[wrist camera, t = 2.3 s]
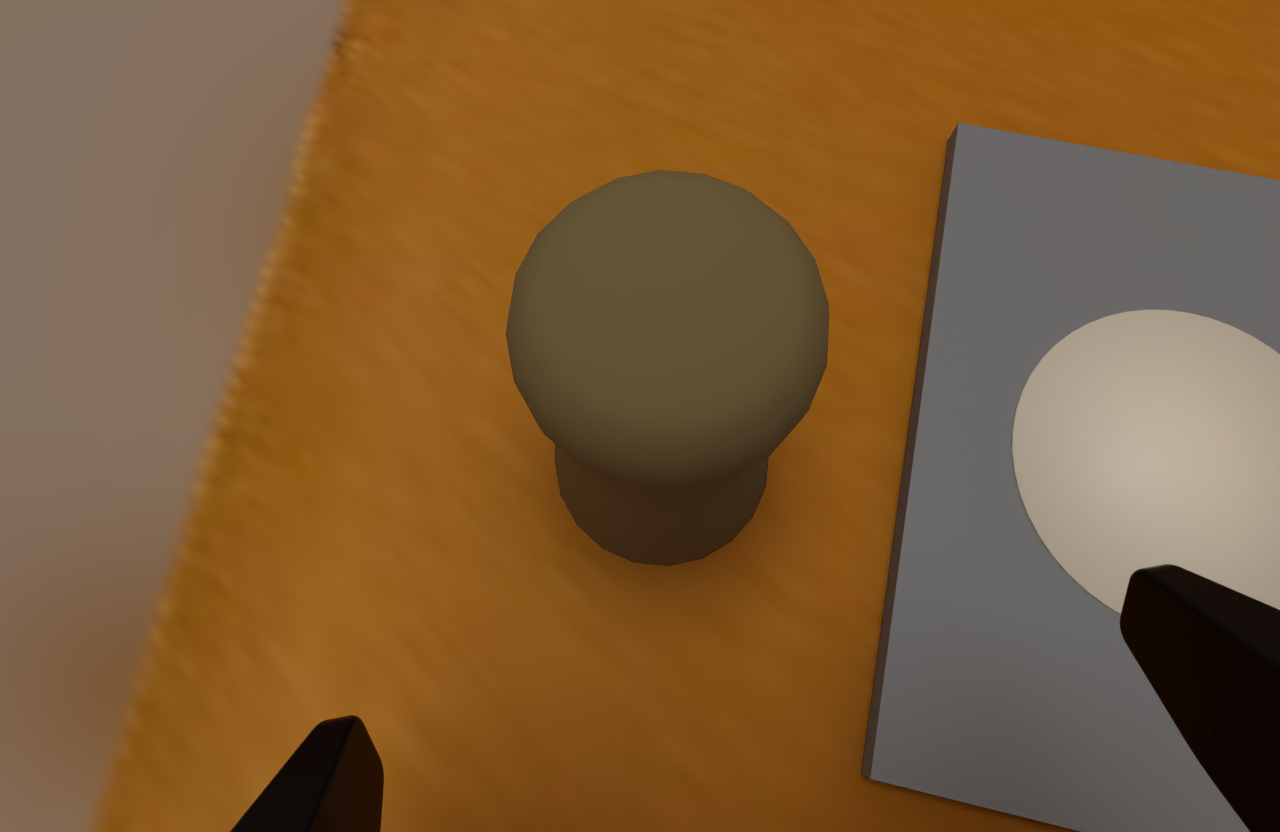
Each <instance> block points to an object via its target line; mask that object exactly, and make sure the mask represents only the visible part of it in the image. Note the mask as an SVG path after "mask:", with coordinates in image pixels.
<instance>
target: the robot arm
mask: <svg viewBox="0 0 1280 832" xmlns="http://www.w3.org/2000/svg"><path fill="white" fill-rule="evenodd" d="M1120 630H1121V634H1122V636H1123V639H1124V641H1125V643H1126V645H1127V646H1128V648H1129V649H1130V651H1131V653H1132V654H1133V656H1134V658H1135V659H1136V661H1137V663H1138V664H1139V666H1140V667H1141V669H1142V671H1143V672H1144V674H1145V676H1146V677H1147V679H1148V681H1149V682H1150V684H1151V686H1152V687H1153V689H1154V690H1155V692H1156V694H1157V695H1158V697H1159V699H1160V700H1161V702H1162V704H1163V705H1164V707H1165V708H1166V710H1167V712H1168V713H1169V715H1170V717H1171V718H1172V720H1173V722H1174V723H1175V725H1176V727H1177V728H1178V730H1179V731H1180V733H1181V735H1182V736H1183V738H1184V740H1185V741H1186V743H1187V744H1188V746H1189V748H1190V749H1191V751H1192V752H1193V754H1194V755H1195V757H1196V758H1197V760H1198V761H1199V763H1200V764H1201V766H1202V767H1203V769H1204V770H1205V771H1206V773H1207V774H1208V776H1209V777H1210V778H1211V780H1212V781H1213V783H1214V784H1215V785H1216V787H1217V788H1218V789H1219V791H1220V792H1221V793H1222V795H1223V796H1224V797H1225V799H1226V800H1227V802H1228V803H1229V804H1230V806H1231V807H1232V808H1233V810H1234V811H1235V812H1236V814H1237V815H1238V816H1239V818H1240V819H1241V820H1242V822H1243V823H1244V824H1245V826H1246V827H1247V828H1248V830H1249V831H1250V832H1280V610H1279V609H1277V608H1274V607H1272V606H1270V605H1268V604H1265V603H1263V602H1261V601H1258V600H1256V599H1254V598H1251V597H1249V596H1247V595H1244V594H1242V593H1240V592H1237V591H1235V590H1233V589H1230V588H1228V587H1226V586H1224V585H1221V584H1219V583H1217V582H1214V581H1212V580H1210V579H1207V578H1205V577H1203V576H1200V575H1198V574H1196V573H1193V572H1191V571H1189V570H1186V569H1184V568H1182V567H1179V566H1176V565H1172V564H1164V565H1158V566H1152V567H1147V568H1142V569H1138V570H1136V571H1135V572H1134V573H1133V574H1132V575H1131V577H1130V579H1129V583H1128V587H1127V591H1126V595H1125V599H1124V603H1123V607H1122V611H1121V615H1120ZM383 785H384V773H383V766H382V762H381V759H380V757H379V755H378V752H377V750H376V748H375V746H374V744H373V742H372V740H371V738H370V736H369V734H368V732H367V730H366V727H365V725H364V723H363V722H362V720H361V719H360V718H359V717H357V716H353V715H350V716H345V717H340V718H334V719H329V720H325V721H322V722H320V723H319V724H318V725H317V726H316V727H315V728H314V729H313V730H312V731H311V732H310V734H309V735H308V736H307V737H306V739H305V740H304V741H303V742H302V743H301V745H300V746H299V747H298V748H297V750H296V751H295V752H294V753H293V755H292V756H291V757H290V758H289V760H288V761H287V762H286V763H285V764H284V766H283V767H282V768H281V769H280V771H279V772H278V773H277V774H276V776H275V777H274V778H273V779H272V781H271V782H270V783H269V784H268V785H267V787H266V788H265V789H264V790H263V792H262V793H261V794H260V795H259V797H258V798H257V799H256V800H255V802H254V803H253V804H252V805H251V806H250V808H249V809H248V810H247V811H246V813H245V814H244V815H243V816H242V818H241V819H240V820H239V821H238V823H237V824H236V825H235V826H234V827H233V829H232V830H231V831H230V832H380V829H381V814H382V800H383Z"/></svg>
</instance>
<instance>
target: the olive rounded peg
mask: <svg viewBox="0 0 1280 832" xmlns="http://www.w3.org/2000/svg"><path fill="white" fill-rule="evenodd" d="M828 329H829V305H828V301H827V297H826V294H825V291H824V287H823V284H822V281H821V278H820V274H819V271H818V268H817V264H816V261H815V259H814V257H813V256H812V254H811V253H810V252H809V250H808V249H807V247H806V246H805V245H804V243H803V242H802V240H801V239H800V238H799V236H798V235H797V233H796V232H795V230H794V229H793V228H792V226H791V225H790V223H789V222H788V221H787V220H785V219H784V218H783V217H782V216H780V215H779V214H778V213H776V212H775V211H774V210H772V209H771V208H770V207H768V206H767V205H766V204H764V203H763V202H762V201H760V200H759V199H758V198H757V197H755V196H754V195H753V194H751V193H750V192H748V191H747V190H745V189H743V188H740V187H738V186H735V185H732V184H730V183H727V182H724V181H722V180H719V179H716V178H714V177H711V176H709V175H706V174H700V173H688V172H676V171H665V170H659V171H653V172H648V173H643V174H638V175H632V176H627V177H622V178H617V179H615V180H613V181H611V182H609V183H607V184H605V185H603V186H601V187H599V188H597V189H595V190H593V191H591V192H589V193H588V194H586V195H584V196H582V197H580V198H578V199H576V200H574V201H573V202H571V203H570V204H569V205H568V206H567V207H566V208H565V209H564V210H563V211H562V212H560V213H559V214H558V215H557V216H556V217H555V218H554V219H553V220H552V221H551V222H550V223H549V224H548V225H547V226H546V227H545V228H544V229H543V230H542V231H541V232H539V233H538V234H537V236H536V238H535V240H534V242H533V244H532V245H531V247H530V249H529V251H528V253H527V255H526V256H525V258H524V260H523V262H522V264H521V266H520V268H519V269H518V271H517V273H516V275H515V281H514V287H513V293H512V299H511V304H510V310H509V316H508V322H507V330H506V337H507V343H508V349H509V355H510V361H511V367H512V372H513V378H514V382H515V384H516V386H517V387H518V389H519V391H520V393H521V395H522V396H523V398H524V400H525V402H526V404H527V405H528V407H529V409H530V411H531V413H532V415H533V416H534V418H535V420H536V422H537V424H538V425H539V427H540V428H541V430H542V432H543V433H544V434H545V435H546V436H547V437H548V438H549V439H551V440H552V441H553V442H554V443H555V465H556V470H557V476H558V482H559V487H560V493H561V496H562V498H563V500H564V502H565V504H566V505H567V507H568V509H569V511H570V513H571V515H572V516H573V518H574V520H575V522H576V524H577V525H578V526H579V527H580V528H581V529H582V530H583V531H584V532H586V533H587V534H588V535H589V536H590V537H591V538H592V539H593V540H594V541H595V542H596V543H597V544H598V545H600V546H601V547H602V548H604V549H606V550H608V551H610V552H612V553H615V554H617V555H619V556H621V557H623V558H626V559H628V560H630V561H632V562H638V563H647V564H656V565H665V566H669V565H674V564H679V563H683V562H688V561H693V560H698V559H702V558H704V557H705V556H707V555H709V554H710V553H712V552H714V551H716V550H717V549H719V548H721V547H722V546H724V545H726V544H727V543H729V542H731V541H732V540H733V539H734V538H735V536H736V535H737V534H738V533H739V532H740V531H741V530H742V528H743V527H744V526H745V525H746V524H747V523H748V521H749V520H750V519H751V518H752V517H753V516H754V513H755V511H756V508H757V506H758V504H759V501H760V499H761V496H762V494H763V491H764V489H765V487H766V481H767V468H768V457H769V456H770V455H771V453H772V452H773V451H774V450H775V449H776V448H777V447H778V446H779V444H780V443H781V442H782V441H783V440H784V439H785V438H786V436H787V435H788V434H789V433H790V432H791V431H792V430H793V429H794V427H795V426H796V425H797V424H798V423H799V422H800V421H801V419H802V418H803V417H804V415H805V414H806V413H807V412H808V410H809V408H810V405H811V403H812V400H813V398H814V396H815V393H816V391H817V388H818V386H819V383H820V381H821V378H822V376H823V373H824V371H825V369H826V366H827V351H828Z"/></svg>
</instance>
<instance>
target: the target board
mask: <svg viewBox="0 0 1280 832" xmlns="http://www.w3.org/2000/svg"><path fill="white" fill-rule="evenodd" d="M1164 564H1172V565H1176V566H1179V567H1182V568H1184V569H1186V570H1189V571H1191V572H1193V573H1196V574H1198V575H1200V576H1203V577H1205V578H1207V579H1210V580H1212V581H1214V582H1217V583H1219V584H1221V585H1224V586H1226V587H1228V588H1230V589H1233V590H1235V591H1237V592H1240V593H1242V594H1244V595H1247V596H1249V597H1251V598H1254V599H1256V600H1258V601H1261V602H1263V603H1265V604H1268V605H1270V606H1272V607H1274V608H1277V609H1279V610H1280V180H1274V179H1269V178H1263V177H1258V176H1252V175H1247V174H1241V173H1235V172H1230V171H1224V170H1219V169H1213V168H1207V167H1202V166H1196V165H1191V164H1185V163H1180V162H1174V161H1168V160H1163V159H1157V158H1152V157H1146V156H1141V155H1135V154H1129V153H1124V152H1118V151H1113V150H1107V149H1101V148H1096V147H1090V146H1085V145H1079V144H1074V143H1068V142H1062V141H1057V140H1051V139H1046V138H1040V137H1035V136H1029V135H1023V134H1018V133H1012V132H1007V131H1001V130H995V129H990V128H984V127H979V126H973V125H968V124H962V123H958V124H957V126H956V128H955V129H954V131H953V133H952V134H951V136H950V138H949V140H948V147H947V155H946V162H945V169H944V176H943V184H942V191H941V198H940V206H939V213H938V220H937V227H936V235H935V242H934V249H933V256H932V264H931V271H930V278H929V286H928V293H927V300H926V307H925V315H924V322H923V329H922V336H921V344H920V351H919V358H918V366H917V373H916V380H915V387H914V395H913V402H912V409H911V416H910V424H909V431H908V438H907V446H906V453H905V460H904V467H903V475H902V482H901V489H900V496H899V504H898V511H897V518H896V526H895V533H894V540H893V547H892V555H891V562H890V569H889V576H888V584H887V591H886V598H885V606H884V613H883V620H882V627H881V635H880V642H879V649H878V657H877V664H876V671H875V678H874V686H873V693H872V700H871V707H870V715H869V722H868V729H867V737H866V744H865V751H864V758H863V766H862V774H864V775H865V776H867V777H868V778H870V779H872V780H876V781H880V782H884V783H888V784H892V785H896V786H900V787H904V788H908V789H912V790H916V791H920V792H924V793H928V794H932V795H936V796H940V797H944V798H948V799H952V800H956V801H960V802H964V803H968V804H972V805H976V806H980V807H984V808H988V809H992V810H996V811H1000V812H1004V813H1008V814H1012V815H1016V816H1020V817H1024V818H1028V819H1032V820H1036V821H1040V822H1044V823H1048V824H1052V825H1056V826H1060V827H1064V828H1068V829H1072V830H1076V831H1080V832H1250V831H1249V830H1248V828H1247V827H1246V826H1245V824H1244V823H1243V822H1242V820H1241V819H1240V818H1239V816H1238V815H1237V814H1236V812H1235V811H1234V810H1233V808H1232V807H1231V806H1230V804H1229V803H1228V802H1227V800H1226V799H1225V797H1224V796H1223V795H1222V793H1221V792H1220V791H1219V789H1218V788H1217V787H1216V785H1215V784H1214V783H1213V781H1212V780H1211V778H1210V777H1209V776H1208V774H1207V773H1206V771H1205V770H1204V769H1203V767H1202V766H1201V764H1200V763H1199V761H1198V760H1197V758H1196V757H1195V755H1194V754H1193V752H1192V751H1191V749H1190V748H1189V746H1188V744H1187V743H1186V741H1185V740H1184V738H1183V736H1182V735H1181V733H1180V731H1179V730H1178V728H1177V727H1176V725H1175V723H1174V722H1173V720H1172V718H1171V717H1170V715H1169V713H1168V712H1167V710H1166V708H1165V707H1164V705H1163V704H1162V702H1161V700H1160V699H1159V697H1158V695H1157V694H1156V692H1155V690H1154V689H1153V687H1152V686H1151V684H1150V682H1149V681H1148V679H1147V677H1146V676H1145V674H1144V672H1143V671H1142V669H1141V667H1140V666H1139V664H1138V663H1137V661H1136V659H1135V658H1134V656H1133V654H1132V653H1131V651H1130V649H1129V648H1128V646H1127V645H1126V643H1125V641H1124V639H1123V636H1122V634H1121V630H1120V615H1121V611H1122V607H1123V603H1124V599H1125V595H1126V591H1127V587H1128V583H1129V579H1130V577H1131V575H1132V574H1133V573H1134V572H1135V571H1136V570H1138V569H1142V568H1147V567H1152V566H1158V565H1164Z"/></svg>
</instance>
